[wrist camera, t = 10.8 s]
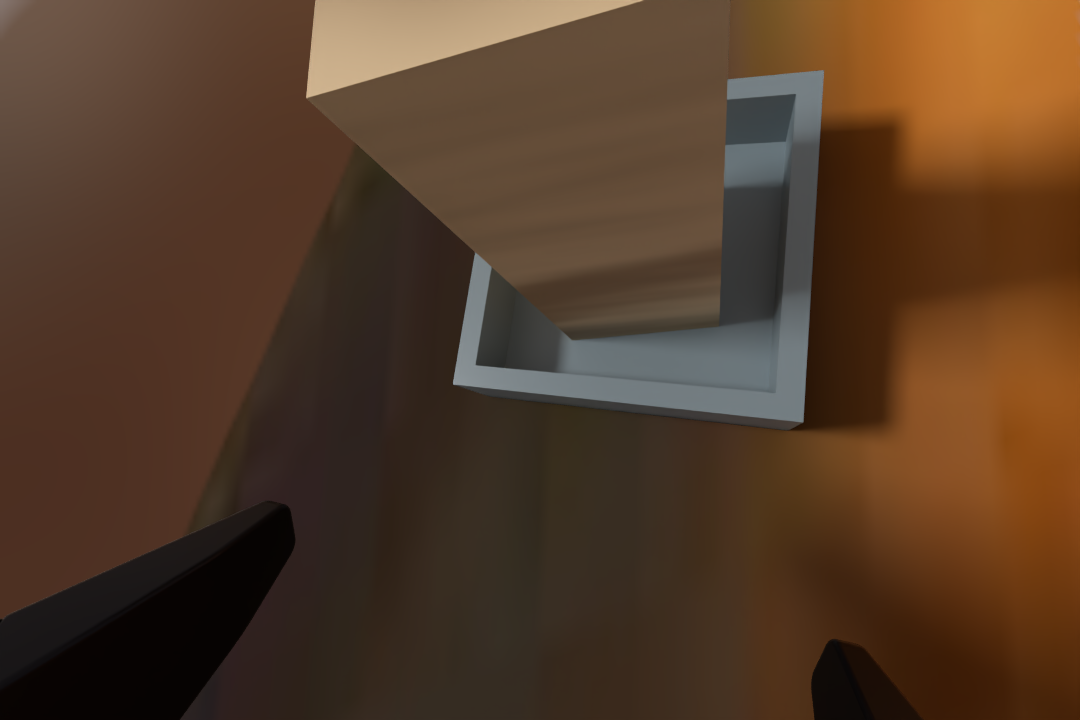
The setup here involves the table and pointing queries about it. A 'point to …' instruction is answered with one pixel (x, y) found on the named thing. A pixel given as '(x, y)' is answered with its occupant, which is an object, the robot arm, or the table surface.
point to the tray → (745, 294)
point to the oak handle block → (550, 141)
